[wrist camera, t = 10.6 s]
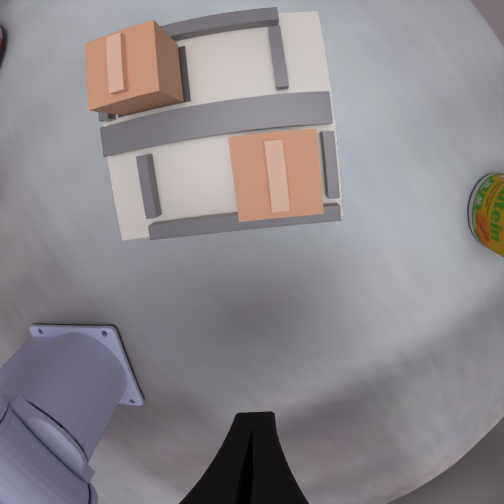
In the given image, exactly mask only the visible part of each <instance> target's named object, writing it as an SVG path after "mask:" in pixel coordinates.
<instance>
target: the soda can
mask: <svg viewBox="0 0 504 504" xmlns="http://www.w3.org/2000/svg"><path fill="white" fill-rule="evenodd" d="M1 47H2V30H1V27H0V53H1Z"/></svg>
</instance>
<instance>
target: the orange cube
mask: <svg viewBox="0 0 504 504" xmlns="http://www.w3.org/2000/svg"><path fill="white" fill-rule="evenodd" d="M228 141H229V149H230V156H231V164H232V172H233V180H234V188H235V195H236V203H237V211H238V218H239V222H244V221H254V220H264V219H274V218H284V217H294V216H305V215H316V214H324V210H323V196H322V184H321V172H320V161H319V151H318V141H317V132H316V129H302V130H289V131H278V132H268V133H259V134H250V135H242V136H234V137H228Z"/></svg>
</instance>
